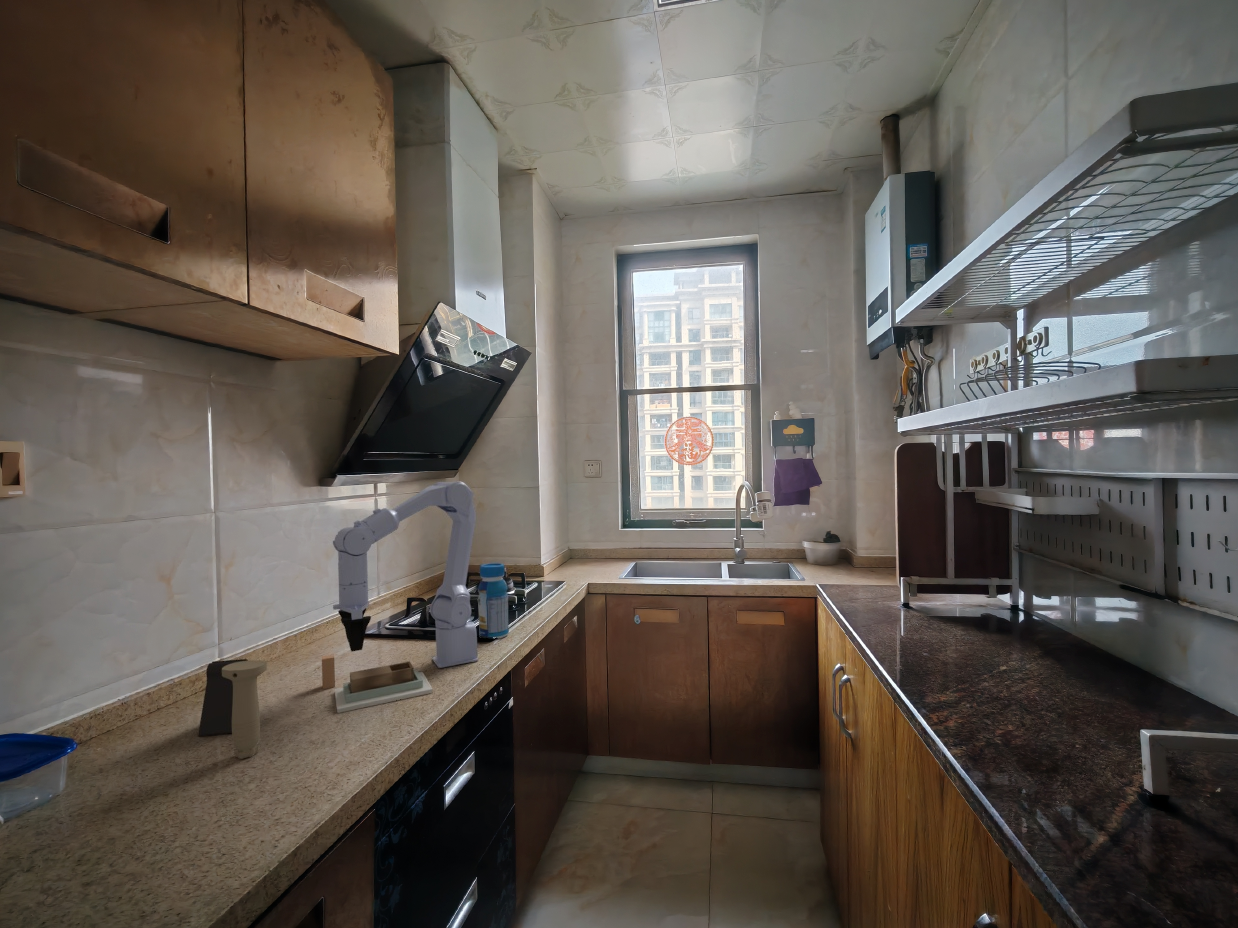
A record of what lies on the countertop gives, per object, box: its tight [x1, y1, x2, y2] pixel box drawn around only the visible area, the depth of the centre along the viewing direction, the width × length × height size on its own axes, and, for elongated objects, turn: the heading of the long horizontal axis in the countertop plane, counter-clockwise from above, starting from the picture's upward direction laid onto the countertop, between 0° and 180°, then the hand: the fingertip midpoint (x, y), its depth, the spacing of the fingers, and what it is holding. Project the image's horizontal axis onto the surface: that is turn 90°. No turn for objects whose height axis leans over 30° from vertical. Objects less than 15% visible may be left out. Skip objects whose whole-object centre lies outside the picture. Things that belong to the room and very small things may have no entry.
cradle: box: [334, 668, 434, 714], centre depth 119 cm, size 18×12×2 cm, turn 119°
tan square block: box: [321, 654, 336, 690], centre depth 124 cm, size 2×2×6 cm
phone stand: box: [197, 658, 249, 738], centre depth 106 cm, size 9×6×12 cm, turn 8°
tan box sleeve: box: [349, 660, 415, 693], centre depth 119 cm, size 12×5×4 cm, turn 119°
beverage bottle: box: [477, 562, 510, 640], centre depth 158 cm, size 8×8×20 cm
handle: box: [222, 659, 268, 760], centre depth 94 cm, size 5×6×15 cm
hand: (354, 645), depth 121 cm, fingers open, 7 cm apart
